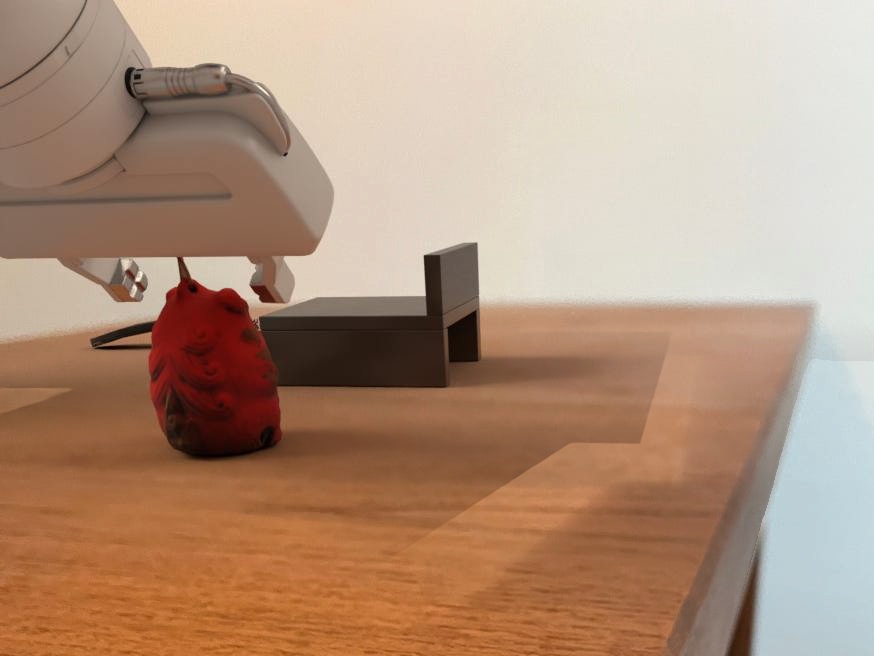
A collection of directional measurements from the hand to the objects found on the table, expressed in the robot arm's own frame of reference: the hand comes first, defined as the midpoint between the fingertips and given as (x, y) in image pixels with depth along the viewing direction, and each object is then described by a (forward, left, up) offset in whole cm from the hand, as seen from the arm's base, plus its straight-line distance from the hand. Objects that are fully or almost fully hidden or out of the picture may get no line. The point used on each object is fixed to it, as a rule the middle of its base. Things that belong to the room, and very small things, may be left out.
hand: (205, 293), depth 55 cm
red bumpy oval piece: (0, -1, -9) cm, 9 cm away
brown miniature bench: (+2, +23, -8) cm, 25 cm away
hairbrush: (-18, +35, -9) cm, 41 cm away
